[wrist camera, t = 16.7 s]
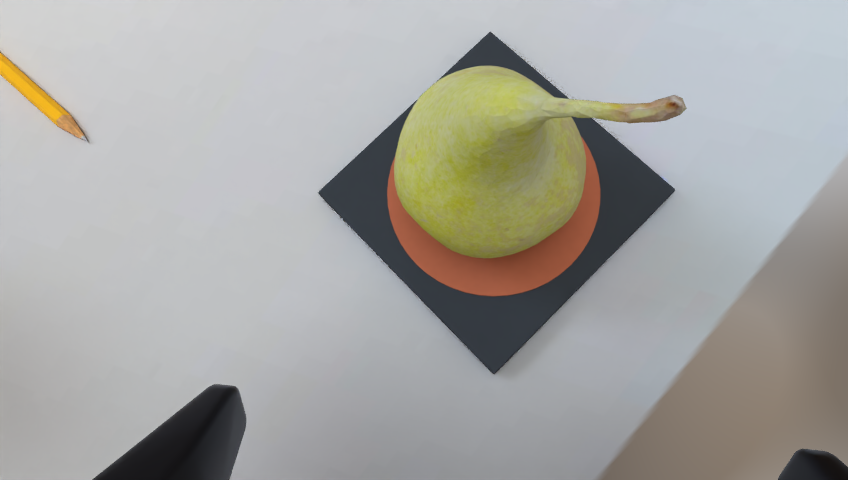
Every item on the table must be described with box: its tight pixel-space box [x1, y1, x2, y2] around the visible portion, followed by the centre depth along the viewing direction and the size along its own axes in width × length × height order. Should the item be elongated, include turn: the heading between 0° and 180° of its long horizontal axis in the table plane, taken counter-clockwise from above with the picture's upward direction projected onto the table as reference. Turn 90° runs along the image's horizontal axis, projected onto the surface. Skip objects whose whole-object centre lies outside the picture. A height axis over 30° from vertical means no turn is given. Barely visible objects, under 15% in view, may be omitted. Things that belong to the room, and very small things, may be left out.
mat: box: [318, 32, 675, 374], centre depth 23 cm, size 11×11×1 cm
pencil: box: [0, 53, 87, 141], centre depth 27 cm, size 1×13×1 cm, turn 50°
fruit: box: [394, 66, 686, 258], centre depth 17 cm, size 7×8×12 cm
